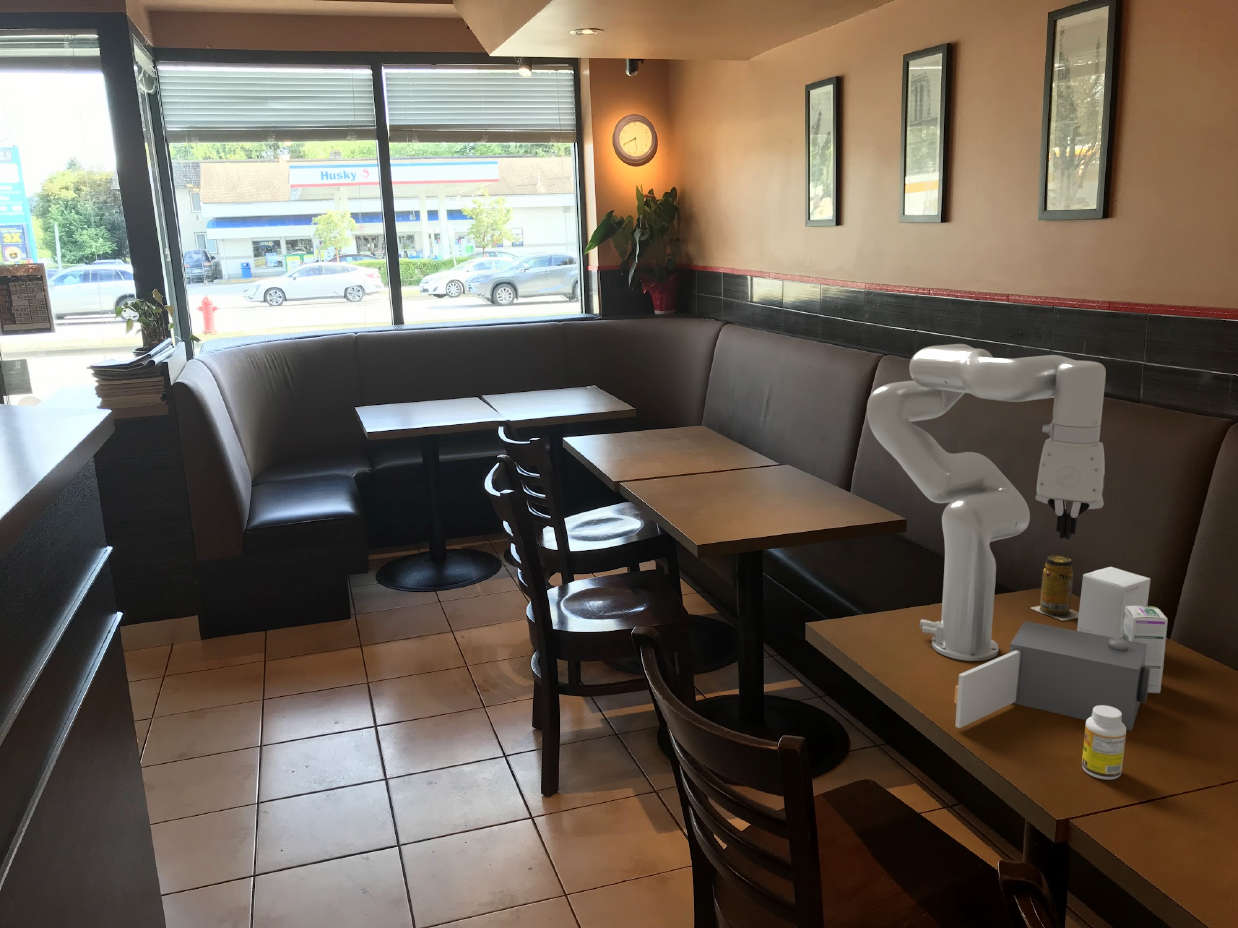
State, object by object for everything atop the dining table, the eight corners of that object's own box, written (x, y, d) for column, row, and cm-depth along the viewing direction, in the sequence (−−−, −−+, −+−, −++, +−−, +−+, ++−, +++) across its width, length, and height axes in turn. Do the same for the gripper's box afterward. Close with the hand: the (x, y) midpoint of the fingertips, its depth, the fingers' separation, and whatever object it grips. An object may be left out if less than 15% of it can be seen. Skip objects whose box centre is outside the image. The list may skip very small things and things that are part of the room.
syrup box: (1161, 693, 174) (1170, 618, 170) (1125, 691, 175) (1134, 616, 172) (1151, 679, 179) (1159, 606, 176) (1116, 677, 180) (1124, 604, 177)
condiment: (1053, 603, 217) (1057, 552, 214) (1085, 615, 209) (1091, 563, 207) (1029, 608, 214) (1034, 557, 211) (1061, 622, 206) (1066, 568, 204)
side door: (1008, 696, 172) (1012, 647, 170) (1017, 700, 170) (1022, 650, 168) (950, 723, 163) (953, 672, 161) (959, 728, 161) (963, 676, 159)
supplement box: (1116, 659, 188) (1124, 586, 184) (1074, 643, 195) (1081, 573, 192) (1144, 649, 192) (1152, 577, 189) (1102, 634, 200) (1109, 565, 196)
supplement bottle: (1086, 758, 153) (1093, 698, 151) (1125, 769, 150) (1132, 709, 147) (1076, 773, 149) (1082, 712, 147) (1115, 785, 145) (1122, 723, 143)
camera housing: (1005, 701, 172) (1010, 638, 169) (1020, 675, 182) (1025, 615, 179) (1139, 732, 160) (1147, 665, 158) (1147, 703, 170) (1155, 640, 167)
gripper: (1024, 433, 166) (1015, 535, 170) (1121, 442, 158) (1109, 549, 162) (1033, 426, 172) (1025, 525, 176) (1127, 434, 164) (1116, 537, 168)
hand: (1065, 536), depth 169 cm, fingers closed
